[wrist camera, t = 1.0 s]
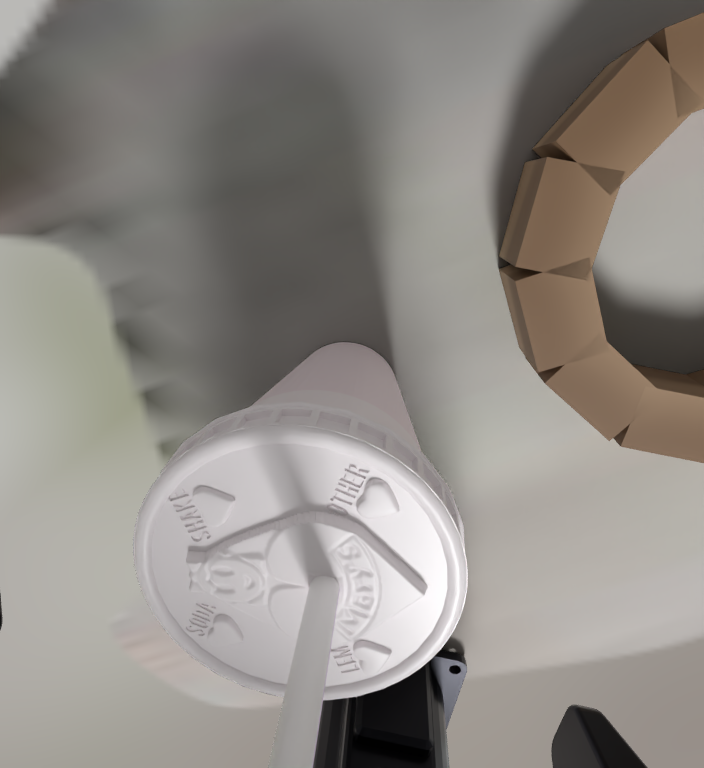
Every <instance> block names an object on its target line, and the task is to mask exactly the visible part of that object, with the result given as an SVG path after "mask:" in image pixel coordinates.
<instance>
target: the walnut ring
mask: <svg viewBox="0 0 704 768" xmlns="http://www.w3.org/2000/svg"><path fill="white" fill-rule="evenodd" d="M701 109H704V13H701V14H699V15H696V16H694V17H691V18H689V19H686V20H684V21H681V22H679V23H676V24H674V25H671V26H669V27H666V28H664V29H662V30H661V31H659V32H658V33H656V34H654V35H653V36H651V37H649V38H648V39H646V40H645V41H643V42H641V43H640V44H638V45H637V46H635V47H633V48H632V49H630V50H628V51H627V52H625V53H624V54H622V55H621V57H619V58H618V59H616V60H614V61H613V62H611V63H610V64H608V65H607V66H606V67H605V68H604V69H603V70H602V72H601V73H600V74H599V75H598V76H597V77H596V78H595V79H594V80H593V82H592V83H591V84H590V85H589V86H588V87H587V88H586V89H585V91H584V92H583V93H582V94H581V95H580V96H579V97H578V98H577V99H576V101H575V102H574V103H573V104H572V105H571V106H570V107H569V108H568V109H567V111H566V112H565V113H564V114H563V115H562V116H561V117H560V118H559V120H558V121H557V122H556V123H555V124H554V125H553V126H552V127H551V128H550V130H549V131H548V132H547V133H546V134H545V135H544V136H543V137H542V139H541V140H540V141H539V142H538V143H537V144H536V145H535V146H534V147H533V150H534V151H535V152H536V153H537V154H538V155H539V156H540V157H541V159H536V160H532V161H528V162H525V164H524V167H523V171H522V174H521V178H520V182H519V185H518V189H517V193H516V196H515V200H514V203H513V207H512V211H511V214H510V218H509V222H508V225H507V229H506V232H505V236H504V240H503V243H502V247H501V251H500V254H499V257H501V258H503V259H504V260H506V261H507V262H509V263H510V264H512V265H509V266H506V267H503V268H500V269H499V272H500V275H501V279H502V283H503V287H504V291H505V294H506V298H507V302H508V306H509V310H510V313H511V317H512V321H513V325H514V329H515V332H516V336H517V340H518V344H519V348H520V349H521V351H522V352H523V353H524V355H525V356H526V359H527V360H528V362H529V363H530V364H531V366H532V367H533V368H534V370H535V371H536V372H537V374H538V375H539V376H540V378H541V379H542V380H543V381H544V383H545V384H546V385H547V386H549V387H550V388H551V389H552V390H553V391H554V392H555V393H556V394H557V395H559V396H560V397H561V398H562V399H563V400H564V401H565V402H566V403H567V404H569V405H570V406H571V407H572V408H573V409H574V410H575V411H576V412H578V413H579V414H580V415H581V416H582V417H583V418H584V419H585V420H586V421H588V422H589V423H590V424H591V425H592V426H593V427H594V428H595V429H597V430H598V431H599V432H600V433H601V434H602V435H603V436H604V437H605V438H607V439H608V440H609V441H610V440H611V439H612V438H614V439H615V440H616V442H617V443H618V444H619V445H620V446H621V447H626V448H631V449H636V450H641V451H646V452H651V453H656V454H661V455H666V456H671V457H676V458H681V459H686V460H691V461H696V462H701V463H704V370H700V371H696V372H693V373H689V374H686V375H685V374H680V373H675V372H670V371H665V370H660V369H655V368H650V367H645V366H640V365H634V364H630V363H629V362H628V361H627V360H626V359H625V358H624V357H623V356H622V355H621V354H620V353H619V352H618V351H616V350H615V349H614V348H613V347H612V346H611V345H610V344H609V343H608V342H607V340H606V336H605V331H604V326H603V321H602V316H601V311H600V307H599V302H598V297H597V292H596V287H595V282H594V278H593V273H592V266H593V263H594V260H595V258H596V255H597V252H598V249H599V246H600V243H601V240H602V237H603V234H604V231H605V228H606V225H607V223H608V220H609V217H610V214H611V211H612V208H613V205H614V202H615V199H616V196H617V193H618V190H619V188H620V185H621V184H622V183H623V182H624V181H625V180H626V179H627V178H628V177H629V176H630V175H631V174H632V173H633V172H634V171H635V170H636V169H637V168H638V167H639V166H640V165H641V164H642V163H643V162H644V161H645V160H646V159H647V158H648V157H649V156H650V155H651V154H652V153H653V152H654V151H655V150H656V149H657V148H658V147H659V146H660V145H661V143H662V142H663V141H664V140H665V139H666V138H667V137H668V136H669V135H670V134H671V133H672V132H673V131H674V130H675V129H676V128H677V127H678V126H679V125H680V124H681V123H682V122H683V121H684V120H685V119H686V118H687V117H688V116H689V115H690V114H691V113H693V112H696V111H698V110H701Z"/></svg>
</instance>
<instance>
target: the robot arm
mask: <svg viewBox="0 0 704 768" xmlns="http://www.w3.org/2000/svg"><path fill="white" fill-rule="evenodd" d="M1 626H2V608H1V595H0V630H1ZM453 665H457V666H453ZM466 673H467V665H466V660H465V658H464V657H463V656H462V655H461V654H458V653H454V652H449V651H444V650H440V651H439V652H438V653H437V654H436V655H435V656H434V657H433V658H432V659H431V660H430V661H429V662H427V663H426V664H425V665H424V666H423V667H421V668H420V669H419V670H417V671H416V672H414V673H413V674H411V675H410V676H408V677H406V678H404V679H403V680H401V681H399V682H397V683H395V684H393V685H390V686H388V687H386V688H384V689H381V690H378V691H374V692H371V693H367V694H364V695H361V696H357V697H350V698H342V699H334V700H323V704H322V711H321V717H320V724H319V730H318V737H317V744H316V750H315V757H314V764H313V768H449V757H448V746H447V734H446V729H447V726H448V723H449V720H450V718H451V715H452V712H453V709H454V706H455V704H456V701H457V698H458V695H459V692H460V689H461V686H462V684H463V681H464V678H465V675H466ZM552 762H553V768H647V766H646V765H645V764H644V763H643V762H642V760H641V759H640V758H639V757H638V756H637V754H636V753H635V752H634V751H633V750H632V748H631V747H630V746H629V745H628V744H627V743H626V741H625V740H624V739H623V738H622V737H621V735H620V734H619V733H618V732H617V730H616V729H615V728H614V727H613V726H612V724H611V723H610V722H609V721H608V720H607V719H606V717H605V716H604V715H603V714H602V713H601V712H600V711H598V710H597V709H594V708H589V707H584V706H580V705H571V706H569V707H568V709H567V711H566V712H565V715H564V717H563V719H562V721H561V723H560V725H559V728H558V730H557V732H556V734H555V736H554V739H553V743H552Z"/></svg>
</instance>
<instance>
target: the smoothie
mask: <svg viewBox="0 0 704 768" xmlns="http://www.w3.org/2000/svg"><path fill="white" fill-rule="evenodd" d="M133 555H134V565H135V569H136V574H137V579H138V582H139V585H140V588H141V591H142V593H143V595H144V597H145V600H146V602H147V604H148V606H149V607H150V609H151V611H152V613H153V614H154V616H155V618H156V619H157V620H158V622H159V623H160V624H161V626H162V627H163V628H164V630H165V631H166V632H167V633H168V635H169V636H170V637H171V638H172V639H173V640H174V641H175V642H176V643H177V644H178V645H179V646H180V647H181V648H182V649H183V650H185V651H186V652H187V653H188V654H189V655H190V656H191V657H192V658H194V659H195V660H197V661H198V662H200V663H201V664H203V665H204V666H206V667H207V668H209V669H210V670H211V671H213V672H214V673H216V674H218V675H220V676H222V677H224V678H226V679H228V680H231V681H233V682H235V683H237V684H239V685H241V686H243V687H247V688H250V689H253V690H256V691H259V692H263V693H266V694H269V695H274V696H280V697H284V699H283V704H282V708H281V713H280V717H279V721H278V726H277V731H276V734H275V739H274V743H273V748H272V752H271V756H270V761H269V765H268V768H313V764H314V757H315V750H316V744H317V737H318V730H319V724H320V717H321V711H322V704H323V700H334V699H342V698H350V697H357V696H361V695H364V694H367V693H371V692H374V691H378V690H381V689H384V688H386V687H388V686H390V685H393V684H395V683H397V682H399V681H401V680H403V679H404V678H406V677H408V676H410V675H411V674H413V673H414V672H416V671H417V670H419V669H420V668H421V667H423V666H424V665H425V664H426V663H427V662H429V661H430V660H431V659H432V658H433V657H434V656H435V655H436V654H437V653H438V652H439V651H440V650H441V648H442V647H443V646H444V644H445V643H446V642H447V641H448V639H449V638H450V636H451V634H452V633H453V631H454V629H455V627H456V625H457V623H458V621H459V619H460V616H461V613H462V610H463V607H464V604H465V599H466V593H467V583H468V571H467V560H466V555H465V543H464V524H463V522H462V519H461V516H460V514H459V511H458V508H457V506H456V503H455V500H454V498H453V495H452V492H451V490H450V488H449V486H448V485H447V484H446V482H445V481H444V480H443V478H442V477H441V476H440V474H439V473H438V472H437V471H436V469H435V468H434V467H433V465H432V464H431V463H430V461H429V460H428V459H427V457H426V456H425V455H424V454H423V453H422V451H421V448H420V445H419V442H418V439H417V437H416V434H415V431H414V428H413V425H412V423H411V420H410V417H409V414H408V411H407V409H406V406H405V403H404V400H403V397H402V395H401V392H400V389H399V386H398V383H397V380H396V378H395V375H394V373H393V370H392V369H391V367H390V365H389V364H388V363H387V361H386V360H385V359H384V358H383V357H382V356H381V355H379V354H378V353H377V352H375V351H374V350H372V349H370V348H368V347H366V346H364V345H361V344H357V343H351V342H339V343H333V344H329V345H326V346H324V347H322V348H320V349H318V350H316V351H315V352H314V353H312V354H311V355H310V356H309V357H308V358H306V359H305V360H304V361H303V362H302V363H301V364H299V365H298V366H297V367H296V368H295V369H294V370H292V371H291V372H290V373H289V374H288V375H287V376H285V377H284V378H283V379H282V380H281V381H280V382H278V383H277V384H276V385H275V386H274V387H273V388H271V389H270V390H269V391H268V392H267V393H265V394H264V395H263V396H262V397H261V398H260V399H258V400H257V401H256V402H255V403H254V404H253V405H251V406H250V407H248V408H245V409H242V410H239V411H237V412H234V413H231V414H228V415H225V416H222V417H219V418H216V419H215V420H213V421H212V422H210V423H209V424H208V425H206V426H205V427H203V428H202V429H201V430H199V431H198V432H196V433H195V434H193V435H192V436H191V437H189V438H188V439H186V440H185V441H184V442H183V443H182V444H181V445H180V447H179V448H178V449H177V451H176V452H175V453H174V455H173V456H172V457H171V458H170V460H169V461H168V462H167V464H166V465H165V466H164V468H163V469H162V470H161V472H160V475H159V477H158V478H157V480H156V481H155V482H154V484H153V485H152V486H151V488H150V489H149V491H148V493H147V495H146V497H145V498H144V501H143V503H142V505H141V508H140V510H139V513H138V517H137V521H136V524H135V530H134V537H133Z"/></svg>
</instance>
